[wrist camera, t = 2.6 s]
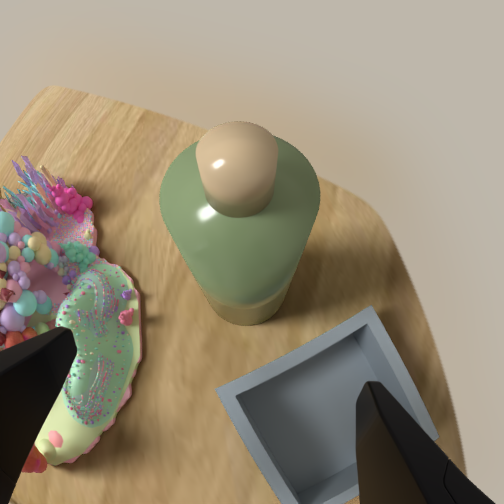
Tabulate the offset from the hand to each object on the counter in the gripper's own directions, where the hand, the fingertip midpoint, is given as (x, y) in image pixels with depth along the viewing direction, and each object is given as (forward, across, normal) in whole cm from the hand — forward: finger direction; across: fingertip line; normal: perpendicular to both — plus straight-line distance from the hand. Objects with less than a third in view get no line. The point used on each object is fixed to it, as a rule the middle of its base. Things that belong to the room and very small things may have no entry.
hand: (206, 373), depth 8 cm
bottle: (+13, 0, +4) cm, 14 cm away
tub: (+7, -6, +10) cm, 14 cm away
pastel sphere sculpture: (+9, +19, +9) cm, 23 cm away
